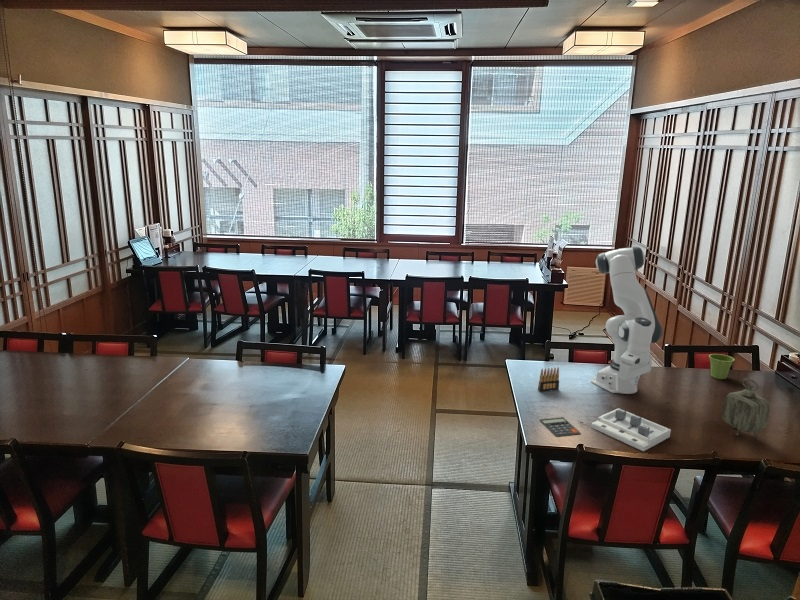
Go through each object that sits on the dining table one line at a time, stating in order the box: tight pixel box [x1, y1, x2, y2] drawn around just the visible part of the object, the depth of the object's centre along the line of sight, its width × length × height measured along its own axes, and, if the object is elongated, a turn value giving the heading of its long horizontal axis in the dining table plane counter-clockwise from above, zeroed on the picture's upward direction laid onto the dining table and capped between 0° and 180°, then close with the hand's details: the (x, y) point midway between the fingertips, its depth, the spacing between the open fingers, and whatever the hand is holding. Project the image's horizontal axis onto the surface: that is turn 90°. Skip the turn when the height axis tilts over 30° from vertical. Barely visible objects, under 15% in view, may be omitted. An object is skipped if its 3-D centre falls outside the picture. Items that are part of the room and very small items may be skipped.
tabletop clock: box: [721, 378, 771, 440], centre depth 222 cm, size 14×9×25 cm, turn 20°
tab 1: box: [615, 408, 627, 421], centre depth 232 cm, size 3×3×4 cm
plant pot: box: [708, 353, 735, 380], centre depth 284 cm, size 12×12×11 cm
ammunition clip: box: [537, 366, 560, 393], centre depth 265 cm, size 11×2×12 cm, turn 104°
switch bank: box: [590, 407, 672, 452], centre depth 225 cm, size 24×20×4 cm
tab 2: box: [630, 414, 643, 427], centre depth 227 cm, size 3×3×4 cm
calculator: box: [539, 416, 582, 438], centre depth 229 cm, size 12×1×15 cm
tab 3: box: [638, 425, 650, 437], centre depth 218 cm, size 3×3×4 cm
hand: (633, 384), depth 233 cm, fingers closed
